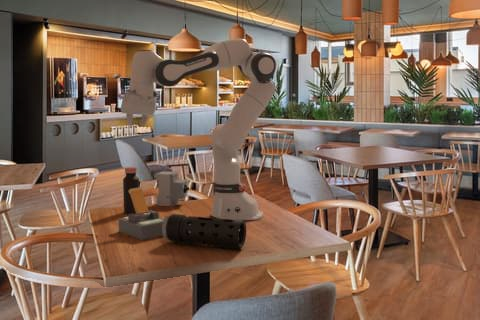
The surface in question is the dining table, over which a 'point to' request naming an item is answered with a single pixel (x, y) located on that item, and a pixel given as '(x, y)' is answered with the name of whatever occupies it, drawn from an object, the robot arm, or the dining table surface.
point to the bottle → (129, 183)
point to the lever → (139, 202)
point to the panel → (141, 226)
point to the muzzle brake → (204, 231)
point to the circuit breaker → (170, 188)
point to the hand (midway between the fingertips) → (136, 126)
